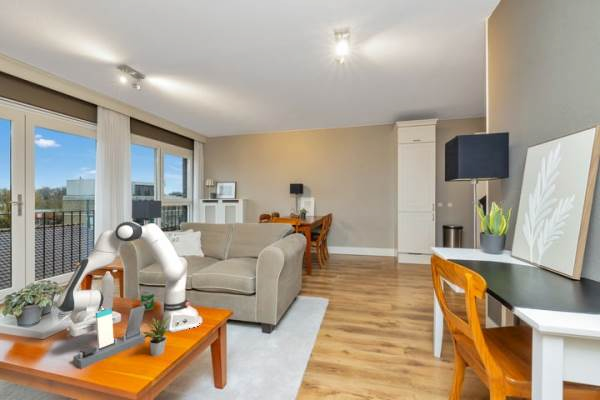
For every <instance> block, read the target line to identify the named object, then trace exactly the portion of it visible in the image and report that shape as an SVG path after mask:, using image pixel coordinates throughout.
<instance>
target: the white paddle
mask: <svg viewBox="0 0 600 400" xmlns="http://www.w3.org/2000/svg"><path fill="white" fill-rule="evenodd" d="M112 309H113V308H112ZM112 309H107V310H103V311H101V310H99V311H100V312H97V313H95V314H96V326H97V330H96V337H97V339H96V340H97V345H98V346H99V348H102V347H104V346H107V345H110V344H112V343H114V338H115V337H114V328H113V327H114V324H113V323H112V311H113V310H112Z"/></svg>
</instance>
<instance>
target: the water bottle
mask: <svg viewBox="0 0 600 400" xmlns="http://www.w3.org/2000/svg"><path fill="white" fill-rule="evenodd" d="M112 272H113V273H116V272H118V269H113V270H112ZM114 281H115V279H114V276H113V275H112V274H111V272H110V271H108V270H107V271H105V274H104V275H103V276H102V278H101V290H100V291H101V293H102V294H103V297H104V300H103V304H102V307H103V308H104V310H107V309H113V307H114V301H113V300H114Z"/></svg>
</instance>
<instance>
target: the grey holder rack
mask: <svg viewBox="0 0 600 400" xmlns="http://www.w3.org/2000/svg"><path fill="white" fill-rule="evenodd" d="M139 332H142V329H141V328H140V330H139ZM145 335H146V334H144V333H139V334H137V335H134V336H132V337H129V338H127V339H126V336H125V334H123V335H121V337H120V338H119V337H118V338H115V337H114V343H112V344H110V345H107V346H104V347H102V348H99V346H98V344H97V345H96V344H95V345H94V348H97V351H95V352H92V353H90V354H87V355H84V354H83V353H82V352H80V351H79V352H78V353H77V354H76V355H73V359H72V360H73V362H72V363H73V364H74V365H75V366H76V367H78V368H79V369H81V370H83V369H84V367H85V368H86V367H87V368H88V366H89V367H90V366H91V365H93V364H96V363H98V362H101V361H103V360H105V359H107V358H111V357H113V356H115V355H117V354H119V353H121V352H123V351H126V350H129V349H131V348H133V347H135V346H138V345H140V344H143V343H145V341H146V338H144V336H145ZM143 338H144V339H143Z"/></svg>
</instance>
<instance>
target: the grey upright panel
mask: <svg viewBox="0 0 600 400" xmlns="http://www.w3.org/2000/svg"><path fill="white" fill-rule="evenodd" d="M144 310H145V306H144V305H143V306H141V305H139V306H137V307H134V308H131V309H130V313H129V318H128V321H127V326H126V329H125V330H126V331H125V334H124V335H125V336H126V339H127V338H129V337H132V336H134V335H137V334H139V330H140V329H141V325H142V323H143V317H144V313H145V311H144Z"/></svg>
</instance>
